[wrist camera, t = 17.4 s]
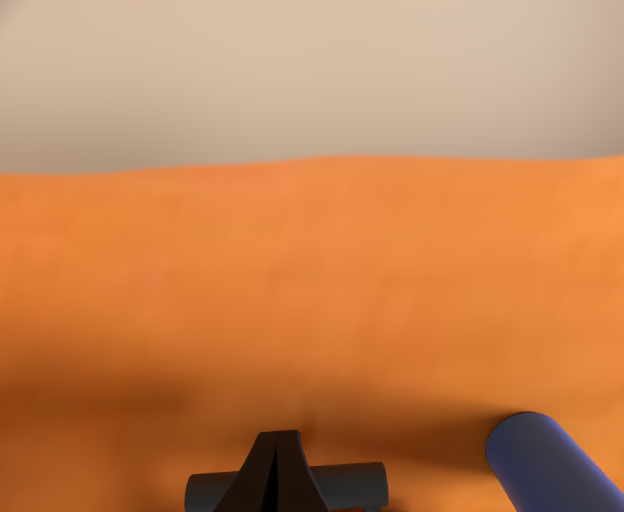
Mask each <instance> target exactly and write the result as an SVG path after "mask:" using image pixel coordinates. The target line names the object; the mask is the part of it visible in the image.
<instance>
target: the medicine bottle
mask: <svg viewBox="0 0 624 512" xmlns="http://www.w3.org/2000/svg"><path fill="white" fill-rule="evenodd" d="M486 458H487V461H488V463H489V465H490V467H491V469H492V470H493V472H494V474H495V475H496V477H497V479H498V480H499V482H500V484H501V485H502V487H503V489H504V490H505V492H506V494H507V495H508V497H509V499H510V500H511V502H512V504H513V506H514V507H515V509H516V511H517V512H624V494H623V493H622V492H621V491H620V490H619V488H618V487H617V486H616V485H615V484H614V483H613V482H612V481H611V480H610V479H609V478H608V477H607V476H606V475H605V473H604V472H603V471H602V470H601V469H600V468H599V467H598V466H597V465H596V464H595V463H594V462H593V461H592V460H591V459H590V457H589V456H588V455H587V454H586V453H585V452H584V451H583V450H582V449H581V448H580V447H579V446H578V445H577V444H576V443H575V441H574V440H573V439H572V438H571V437H570V436H569V435H568V434H567V433H566V432H565V431H564V430H563V429H562V428H561V426H560V425H559V424H558V423H557V422H556V421H555V420H553V419H552V418H550V417H548V416H546V415H543V414H539V413H521V414H517V415H514V416H511V417H509V418H507V419H506V420H504V421H503V422H501V423H500V424H499V425H498V426H497V427H496V428H495V429H494V430H493V431H492V433H491V435H490V436H489V438H488V441H487V444H486Z"/></svg>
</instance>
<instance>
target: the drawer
mask: <svg viewBox="0 0 624 512" xmlns="http://www.w3.org/2000/svg"><path fill="white" fill-rule="evenodd" d="M309 468H310V470H311V473H312V475H313V477H314V480H315V482H316V484H317V486H318V488H319V490H320V492H321V494H322V496H323V498H324V499H325V501H326V503H327V505H328V506H329V508H330V510H338V509H352V508H363V512H381V507H382V506H387V505H388V502H389V493H388V483H387V476H386V471H385V467H384V465H383V463H382V462H370V463H355V464H340V465H325V466H309ZM238 472H239V471H234V472H219V473H204V474H193V475H191V476H190V477H189V479H188V482H187V486H186V491H185V512H212V511H213V510H214V509H215V507H216V506H217V504H218V503H219V502H220V500H221V499H222V497H223V496H224V494H225V493H226V491H227V490H228V488H229V487H230V485H231V484H232V482H233V481H234V479H235V478H236V476H237V474H238Z"/></svg>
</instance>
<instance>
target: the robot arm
mask: <svg viewBox="0 0 624 512" xmlns="http://www.w3.org/2000/svg"><path fill="white" fill-rule="evenodd" d="M212 512H332V511H331V510H330V508H329V506H328V505H327V503H326V501H325V499H324V498H323V496H322V494H321V492H320V490H319V488H318V486H317V484H316V482H315V480H314V477H313V475H312V473H311V470H310V468H309V465H308V463H307V460H306V457H305V454H304V451H303V447H302V443H301V435H300V432H299V431H298V430H286V431H271V432H260V433H259V434H258V435H257V438H256V440H255V442H254V445H253V447H252V449H251V451H250V453H249V455H248V456H247V458H246V460H245V462H244V464H243V466H242V467H241V469H240V471H239V472H238V474H237V476H236V478H235V479H234V481H233V482H232V484H231V485H230V487H229V488H228V490H227V491H226V493H225V494H224V496H223V497H222V499H221V500H220V502H219V503H218V504H217V506H216V507H215V509H214V510H213V511H212Z"/></svg>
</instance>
